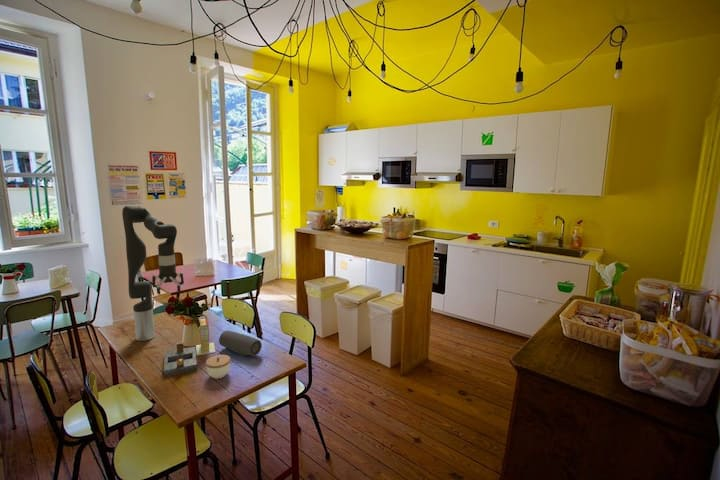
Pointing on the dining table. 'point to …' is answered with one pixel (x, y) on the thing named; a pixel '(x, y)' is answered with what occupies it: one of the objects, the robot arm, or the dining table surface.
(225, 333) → the bluetooth speaker
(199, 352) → the felt pad
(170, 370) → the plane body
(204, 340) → the candy box
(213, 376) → the lidded jar
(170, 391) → the dining table surface
